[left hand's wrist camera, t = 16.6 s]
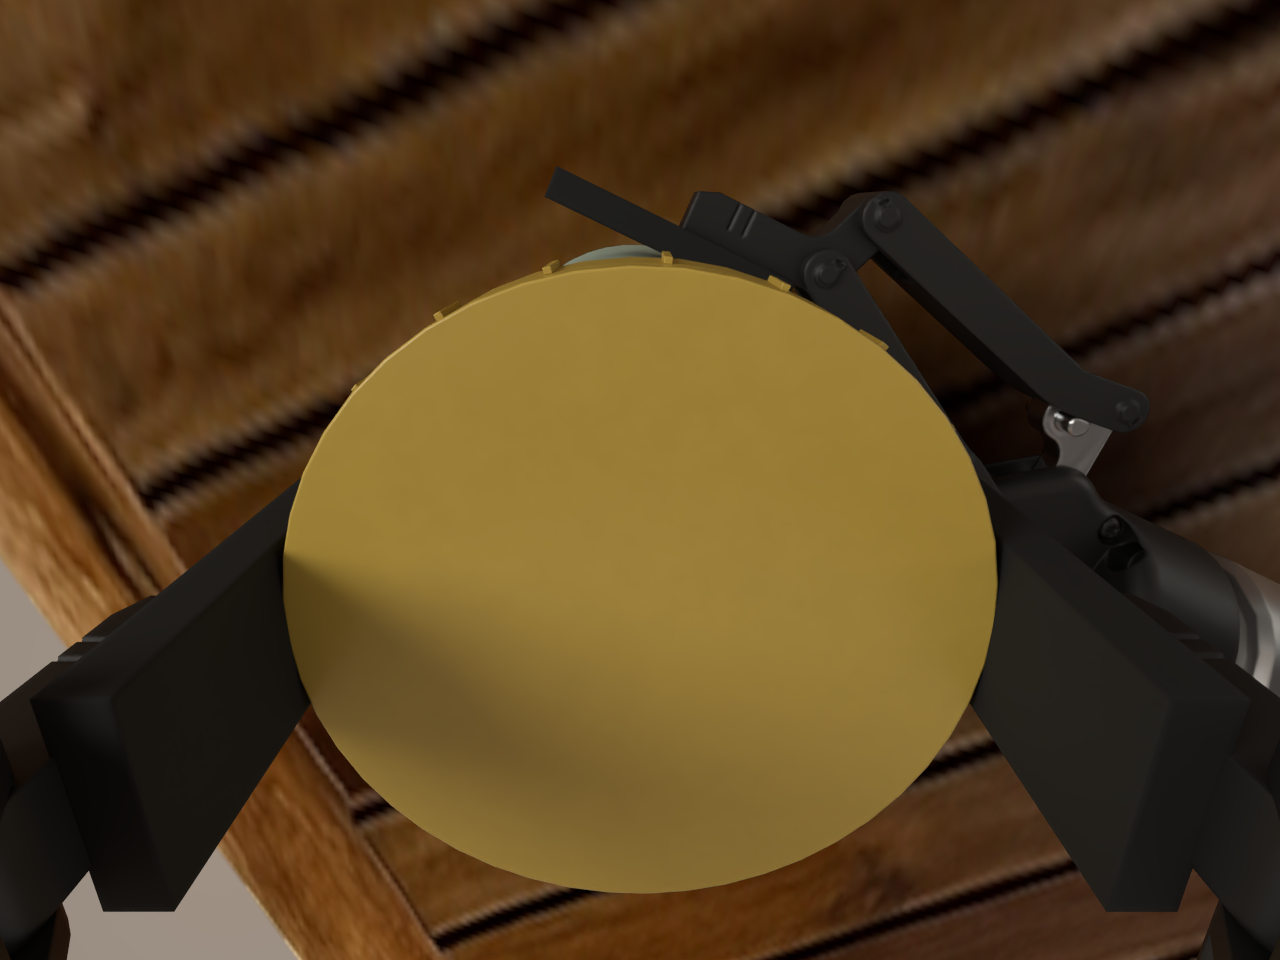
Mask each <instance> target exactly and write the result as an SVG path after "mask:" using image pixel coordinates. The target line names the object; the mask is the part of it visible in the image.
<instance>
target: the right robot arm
mask: <svg viewBox="0 0 1280 960" xmlns="http://www.w3.org/2000/svg"><path fill="white" fill-rule="evenodd" d="M545 197H546V198H549V199H551V200H553V201H555V202H557V203H559V204H561V205H563V206H565V207H567V208H569V209H571V210H573V211H575V212H577V213H580V214H582V215H584V216H586V217H588V218H590V219H592V220H594V221H596V222H598V223H600V224H602V225H604V226H606V227H608V228H610V229H613V230H615V231H617V232H619V233H621V234H623V235H625V236H627V237H629V238H631V239H633V240H635V241H637V242H639V243H641V244H644V245H646V246H648V247H650V248H652V249H654V250H656V251H658V252H660V253H662V251H669V252H670V253H671V255H672V256H673V258H674V259H684V260H689V261H695V262H700V263H706V264H711V265H717V266H722V267H727V268H730V269H733V270H736V271H739V272H742V273H745V274H748V275H751V276H754V277H757V278H760V279H764V280H767V281H768V278H769V276H770V275H772V276H774V277H776V278H778V279H780V280H782V281H784V282H785V283H787V284H789V285H791V287H790V290H789V291H790V292H791V290H792V288H793V287H794V288H795V290H796V291H797V293H798V294H799V296H801V297H803V298H805V299H807V300H809V301H811V302H813V303H814V304H816V305H818V306H820V307H821V308H823V309H825V310H826V311H828V312H830V313H831V314H833V315H835V316H837V317H838V318H840V319H841V320H843V321H844V322H846V323H847V324H849V325H850V326H852V327H853V328H855V329H856V330H857V331H860V330H861V329H862V330H863V331H865V332H867V333H869V334H870V335H872V336H874V337H875V338H877V339H879V340H881V341H882V342H884V343H885V344H886V345H887V346H888V347H889V348H888V349H887V350H886V352H887V353H888V354H890V355H891V356H892V357H893V358H894V359H895V360H896V361H897V362H898V363H899V364H900V365H901V366H903V367H904V368H905V369H906V370H907V371H908V372H909V373H910V374H911V375H912V376H913V377H914V378H916V379H917V380H918V382H919V383H920V384H921V385H922V387H923V388H924V389H925V390H926V392H927V393H928V394H929V395H930V397H931V398H932V399H933V400H934V402H935V403H936V404H937V405H938V407H939V408H940V409H941V410H942V412H943V413H944V414H945V415H946V417H947V418H948V420H949V421H950V423H951V424H952V425H953V423H952V422H951V420H950V419H949V417H948V416H947V414H946V412H945V411H944V409H943V408H942V406H941V405H940V403H939V401H938V400H937V398H936V397H935V395H934V394H933V392H932V390H931V389H930V387H929V386H928V384H927V383H926V381H925V379H924V378H923V376H922V375H921V373H920V372H919V370H918V368H917V367H916V365H915V364H914V362H913V361H912V359H911V358H910V356H909V354H908V353H907V351H906V350H905V348H904V347H903V345H902V343H901V342H900V340H899V339H898V337H897V336H896V334H895V332H894V331H893V329H892V328H891V326H890V325H889V323H888V321H887V320H886V318H885V317H884V315H883V314H882V312H881V310H880V309H879V307H878V306H877V304H876V303H875V301H874V300H873V298H872V296H871V295H870V293H869V292H868V290H867V289H866V287H865V285H864V284H863V282H862V281H861V279H860V278H859V276H858V274H857V273H856V271H857V270H858V269H860V268H861V267H862V266H863V265H864V264H865V263H866V262H867V261H868V260H869V259H871V260H873V261H874V262H875V263H876V264H877V265H878V266H879V267H880V268H881V269H882V270H883V271H884V272H886V273H887V274H888V275H889V276H890V277H891V278H892V279H893V280H894V281H895V282H896V283H897V284H899V285H900V286H901V287H902V288H903V289H904V290H905V291H906V292H907V293H908V294H909V295H910V296H911V297H913V298H914V299H915V300H916V301H917V302H918V303H919V304H920V305H921V306H922V307H923V308H924V309H926V310H927V311H928V312H929V313H930V314H931V315H932V316H933V317H934V318H935V319H936V320H937V321H939V322H940V323H941V324H942V325H943V326H944V327H945V328H946V329H947V330H948V331H949V332H950V333H952V334H953V335H954V336H955V337H956V338H957V339H958V340H959V341H960V342H961V343H962V344H963V345H965V346H966V347H967V348H968V349H969V350H970V351H971V352H972V353H973V354H974V355H975V356H976V357H977V358H979V359H980V360H981V361H982V362H983V363H984V364H985V365H986V366H987V367H988V368H989V369H990V370H992V371H993V372H994V373H995V374H996V375H997V376H998V377H999V378H1001V379H1002V380H1003V381H1004V382H1006V383H1007V384H1008V385H1010V386H1012V387H1013V388H1015V389H1017V390H1018V391H1020V392H1022V393H1024V394H1026V395H1028V396H1030V397H1032V398H1030V399H1029V401H1028V402H1027V404H1026V411H1027V412H1028V413H1027V417H1028V422H1029V423H1030V425H1031V426H1032V427H1033V428H1035V429H1036V430H1037V431H1039V432H1040V433H1041V435H1042V437H1043V440H1044V449H1043V451H1042V454H1041V455H1031V456H1026V457H1020V458H1015V459H1009V460H1004V461H999V462H993V463H988V464H982V462H981V461H980V460H979V458H978V457H977V456H976V455H975V454H974V453H973V452H972V450H971V449H970V448H969V447H968V446H967V445H966V443H965V442H964V441H963V439H962V437H961V436H960V434H959V433H958V431H957V430H956V428H955V426H954V425H953V426H954V428H955V430H956V431H955V432H956V434H957V435H958V437H959V439H960V440H961V442H962V444H963V446H964V447H965V449H966V451H967V453H968V454H969V456H970V458H971V461H972V463H973V466H974V468H975V471H976V474H977V476H978V477H979V478H980V479H981V480H983V481H984V482H985V483H986V484H988V485H989V486H990V487H991V488H992V489H994V490H995V491H996V492H997V493H999V494H1000V495H1001V496H1002V497H1004V498H1005V499H1006V500H1007V501H1008V502H1010V503H1011V504H1012V505H1013V506H1015V507H1016V508H1017V509H1018V510H1019V511H1021V512H1022V513H1023V514H1024V515H1026V516H1027V517H1028V518H1029V519H1030V520H1032V521H1033V522H1034V523H1035V524H1037V525H1038V526H1039V527H1040V528H1042V529H1043V530H1044V531H1045V532H1046V533H1048V534H1049V535H1050V536H1051V537H1053V538H1054V539H1055V540H1056V541H1057V542H1059V543H1060V544H1061V545H1062V546H1064V547H1065V548H1066V549H1067V550H1068V551H1070V552H1071V553H1072V554H1073V555H1075V556H1076V557H1077V558H1078V559H1080V560H1081V561H1082V562H1083V563H1084V564H1086V565H1087V566H1088V567H1089V568H1091V569H1092V570H1093V571H1094V572H1095V573H1097V574H1098V575H1099V576H1100V577H1102V578H1103V579H1104V580H1105V581H1106V582H1108V583H1109V584H1110V585H1111V586H1113V587H1114V588H1115V589H1116V590H1118V591H1119V592H1120V593H1131V594H1133V595H1135V596H1137V597H1139V598H1141V599H1144V600H1146V601H1148V602H1150V603H1152V604H1154V605H1156V606H1158V607H1160V608H1162V609H1164V610H1166V611H1168V612H1170V613H1171V614H1173V615H1174V616H1175V617H1177V618H1178V619H1179V620H1180V621H1182V622H1183V623H1184V624H1186V625H1187V626H1188V627H1189V628H1191V629H1192V630H1193V631H1195V632H1196V633H1197V634H1199V639H1205V640H1206V641H1208V642H1209V643H1210V644H1211V645H1213V646H1214V647H1215V648H1217V649H1218V650H1219V651H1220V652H1222V653H1223V657H1224V659H1231V660H1232V661H1233V662H1235V663H1236V664H1237V665H1238V666H1240V667H1241V668H1242V669H1244V670H1245V671H1246V672H1247V673H1249V674H1250V675H1251V676H1253V677H1254V678H1255V679H1256V680H1258V681H1259V682H1260V683H1262V684H1263V685H1264V686H1266V687H1267V688H1268V689H1269V690H1271V691H1272V692H1273V693H1275V694H1276V695H1277V696H1278V697H1280V584H1278V583H1276V582H1274V581H1272V580H1270V579H1268V578H1266V577H1264V576H1262V575H1260V574H1258V573H1256V572H1254V571H1252V570H1249V569H1247V568H1245V567H1243V566H1241V565H1239V564H1237V563H1235V562H1233V561H1231V560H1229V559H1226V558H1224V557H1222V556H1219V555H1217V554H1214V553H1212V552H1210V551H1206V550H1204V549H1203V548H1201V547H1200V546H1199V545H1197V544H1195V543H1193V542H1191V541H1189V540H1187V539H1185V538H1183V537H1181V536H1179V535H1177V534H1174V533H1172V532H1170V531H1168V530H1166V529H1164V528H1162V527H1160V526H1158V525H1156V524H1153V523H1151V522H1149V521H1147V520H1145V519H1143V518H1141V517H1139V516H1137V515H1135V514H1132V513H1130V512H1128V511H1126V510H1124V509H1122V508H1120V507H1118V506H1116V505H1114V504H1111V503H1109V502H1107V501H1105V500H1103V499H1102V498H1101V497H1100V496H1099V495H1098V493H1097V491H1096V490H1095V488H1094V486H1093V484H1092V482H1091V481H1090V479H1089V478H1088V477H1087V476H1086V475H1087V473H1088V472H1089V470H1090V468H1091V466H1092V465H1093V463H1094V461H1095V460H1096V458H1097V456H1098V454H1099V453H1100V451H1101V449H1102V448H1103V446H1104V444H1105V442H1106V441H1107V439H1108V437H1109V436H1110V434H1111V432H1112V431H1115V432H1121V433H1125V432H1129V431H1133V430H1134V429H1136V428H1138V427H1139V426H1141V424H1142V423H1143V422H1144V421H1145V420H1146V419H1147V416H1148V413H1149V411H1150V402H1149V400H1148V398H1147V396H1146V395H1145V394H1143V393H1142V392H1140V391H1138V390H1135V389H1133V388H1130V387H1127V386H1125V385H1122V384H1119V383H1116V382H1114V381H1111V380H1108V379H1105V378H1103V377H1100V376H1097V375H1095V374H1092V373H1089V372H1086V371H1084V370H1083V369H1082V368H1081V367H1080V366H1079V365H1078V364H1077V363H1076V362H1075V361H1074V360H1073V359H1072V358H1071V357H1070V356H1069V355H1068V354H1067V353H1066V352H1065V351H1064V350H1063V349H1062V348H1061V347H1060V346H1058V345H1057V344H1056V343H1055V342H1054V341H1053V340H1052V339H1051V338H1050V337H1049V336H1048V335H1047V334H1046V333H1045V332H1044V331H1043V330H1042V329H1041V328H1040V327H1039V326H1038V325H1037V324H1036V323H1035V322H1034V321H1033V320H1032V319H1030V318H1029V317H1028V316H1027V315H1026V314H1025V313H1024V312H1023V311H1022V310H1021V309H1020V308H1019V307H1018V306H1017V305H1016V304H1015V303H1014V302H1013V301H1012V300H1011V299H1010V298H1009V297H1008V296H1007V295H1006V294H1005V293H1004V292H1002V291H1001V290H1000V289H999V288H998V287H997V286H996V285H995V284H994V283H993V282H992V281H991V280H990V279H989V278H988V277H987V276H986V275H985V274H984V273H983V272H982V271H981V270H980V269H979V268H978V267H977V266H976V265H974V264H973V263H972V262H971V261H970V260H969V259H968V258H967V257H966V256H965V255H964V254H963V253H962V252H961V251H960V250H959V249H958V248H957V247H956V246H955V245H954V244H953V243H952V242H951V241H950V240H949V239H947V238H946V237H945V236H944V235H943V234H942V233H941V232H940V231H939V230H938V229H937V228H936V227H935V226H934V225H933V224H932V223H931V222H930V221H929V220H928V219H927V218H926V217H925V216H924V215H923V214H922V213H921V212H919V211H918V210H917V209H916V208H915V207H914V206H913V205H912V204H911V203H910V202H909V201H908V200H907V199H906V198H905V197H904V196H902V195H900V194H899V193H897V192H890V191H883V192H869V193H858V194H855V195H852V196H850V197H849V198H848V199H846V200H845V201H844V202H843V204H842V205H841V207H840V209H839V211H838V212H837V213H836V214H835V215H834V216H833V217H832V218H831V219H830V220H829V221H828V222H827V223H826V224H825V225H824V226H823V227H821V228H820V229H819V230H817V231H815V232H813V233H810V234H805V235H804V234H801V233H799V232H797V231H795V230H793V229H791V228H789V227H787V226H785V225H783V224H782V223H780V222H778V221H776V220H774V219H772V218H770V217H768V216H766V215H764V214H762V213H760V212H758V211H755V210H754V209H752V208H750V207H748V206H746V205H744V204H742V203H740V202H738V201H736V200H734V199H732V198H730V197H728V196H726V195H724V194H722V193H720V192H703V191H698V192H694V194H693V196H692V199H691V201H690V203H689V205H688V207H687V210H686V212H685V214H684V216H683V218H682V221H681V223H680V225H679V226H677V225H675V224H673V223H671V222H669V221H667V220H665V219H663V218H661V217H659V216H657V215H655V214H653V213H651V212H649V211H647V210H645V209H643V208H641V207H639V206H637V205H635V204H632V203H630V202H628V201H626V200H624V199H622V198H620V197H618V196H616V195H614V194H612V193H610V192H608V191H606V190H604V189H602V188H600V187H598V186H596V185H594V184H592V183H590V182H588V181H586V180H584V179H582V178H580V177H578V176H576V175H574V174H572V173H570V172H567V171H565V170H563V169H561V168H559V167H557V166H556V169H555V171H554V174H553V176H552V179H551V182H550V184H549V187H548V189H547V192H546V194H545Z"/></svg>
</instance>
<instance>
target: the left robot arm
mask: <svg viewBox="0 0 1280 960" xmlns="http://www.w3.org/2000/svg"><path fill="white" fill-rule="evenodd" d="M301 478H302V477H301ZM301 478H300V479H299V480H298V481H297V482H295V483H294V484H293V485H292V486H290V487H289V488H288V489H287V490H286V491H284V492H283V493H282V494H281V495H279V496H278V497H277V498H276V499H275V500H273V501H272V502H271V503H270V504H268V505H267V506H266V507H265V508H263V509H262V510H261V511H260V512H259V513H257V514H256V515H255V516H254V517H252V518H251V519H250V520H249V521H248V522H246V523H245V524H244V525H243V526H241V527H240V528H239V529H238V530H237V531H235V532H234V533H233V534H232V535H230V536H229V537H228V538H227V539H226V540H224V541H223V542H222V543H221V544H219V545H218V546H217V547H216V548H214V549H213V550H212V551H211V552H210V553H208V554H207V555H206V556H205V557H203V558H202V559H201V560H200V561H199V562H197V563H196V564H195V565H194V566H192V567H191V568H190V569H189V570H188V571H186V572H185V573H184V574H183V575H181V576H180V577H179V578H178V579H176V580H175V581H174V582H173V583H172V584H170V585H169V586H168V587H167V588H165V589H164V590H163V591H162V592H161V593H159V594H158V595H157V596H149V597H147V598H145V599H143V600H141V601H139V602H137V603H135V604H133V605H131V606H129V607H127V608H125V609H123V610H121V611H118V612H116V613H114V614H112V615H111V616H109V617H108V618H107V619H106V620H104V621H103V622H102V623H101V624H99V625H98V626H97V627H95V628H94V629H93V630H92V631H90V632H89V633H88V634H86V635H85V636H84V637H83V640H82V642H76V643H75V644H74V645H72V646H71V647H70V648H69V649H67V650H66V651H65V652H63V653H62V654H61V655H60V656H58V661H57V662H51V663H49V664H48V665H47V666H46V667H44V668H43V669H42V670H40V671H39V672H38V673H37V674H35V675H34V676H33V677H32V678H30V679H29V680H28V681H26V682H25V683H24V684H23V685H21V686H20V687H19V688H17V689H16V690H15V691H14V692H12V693H11V694H10V695H9V696H7V697H6V698H5V699H3V700H2V701H1V702H0V960H67V954H68V948H69V942H70V935H71V934H70V928H69V922H68V917H67V915H66V912H65V909H64V907H63V904H62V903H63V901H64V900H65V899H66V898H67V896H68V895H69V894H70V893H71V892H72V890H73V889H74V888H75V887H76V886H77V884H78V883H79V882H80V881H81V879H82V878H83V877H84V876H85V875H86V873H87V872H88V871H89V872H90V875H91V878H92V881H93V883H94V886H95V889H96V892H97V895H98V898H99V901H100V904H101V906H102V909H103V911H104V912H174V911H175V909H176V908H177V906H178V905H179V903H180V902H181V900H182V899H183V897H184V896H185V894H186V893H187V891H188V890H189V888H190V887H191V885H192V884H193V882H194V880H195V879H196V877H197V876H198V874H199V873H200V871H201V870H202V868H203V867H204V865H205V864H206V862H207V861H208V859H209V858H210V856H211V855H212V853H213V852H214V850H215V848H216V847H217V845H218V844H219V842H220V841H221V839H222V838H223V836H224V835H225V833H226V832H227V830H228V829H229V827H230V826H231V824H232V823H233V821H234V820H235V818H236V816H237V815H238V813H239V812H240V810H241V809H242V807H243V806H244V804H245V803H246V801H247V800H248V798H249V797H250V795H251V794H252V792H253V791H254V789H255V787H256V786H257V784H258V783H259V781H260V780H261V778H262V777H263V775H264V774H265V772H266V771H267V769H268V768H269V766H270V765H271V763H272V762H273V760H274V759H275V757H276V755H277V754H278V752H279V751H280V749H281V748H282V746H283V745H284V743H285V742H286V740H287V739H288V737H289V736H290V734H291V733H292V731H293V730H294V728H295V726H296V725H297V723H298V722H299V720H300V719H301V717H302V716H303V714H304V713H305V711H306V710H307V708H308V707H309V705H310V704H311V701H310V699H309V697H308V694H307V692H306V690H305V688H304V686H303V684H302V681H301V679H300V676H299V673H298V669H297V666H296V663H295V659H294V655H293V651H292V646H291V642H290V636H289V631H288V625H287V620H286V614H285V609H284V604H283V554H284V548H285V541H286V535H287V529H288V522H289V516H290V512H291V509H292V506H293V503H294V500H295V497H296V494H297V491H298V487H299V484H300V481H301ZM978 479H979V481H980V484H981V486H982V489H983V492H984V494H985V497H986V500H987V504H988V509H989V514H990V518H991V523H992V527H993V532H994V537H995V542H996V558H997V575H998V590H997V601H996V610H995V616H994V622H993V627H992V632H991V637H990V642H989V647H988V652H987V657H986V662H985V665H984V668H983V670H982V673H981V675H980V678H979V680H978V683H977V685H976V688H975V690H974V693H973V695H972V698H971V700H970V702H969V703H970V704H971V706H972V707H973V709H974V711H975V712H976V714H977V715H978V717H979V718H980V720H981V721H982V723H983V724H984V726H985V727H986V729H987V730H988V732H989V733H990V735H991V736H992V738H993V739H994V741H995V743H996V744H997V746H998V747H999V749H1000V750H1001V752H1002V753H1003V755H1004V756H1005V758H1006V759H1007V761H1008V762H1009V764H1010V765H1011V767H1012V768H1013V770H1014V771H1015V773H1016V775H1017V776H1018V778H1019V779H1020V781H1021V782H1022V784H1023V785H1024V787H1025V788H1026V790H1027V791H1028V793H1029V794H1030V796H1031V797H1032V799H1033V800H1034V802H1035V804H1036V805H1037V807H1038V808H1039V810H1040V811H1041V813H1042V814H1043V816H1044V817H1045V819H1046V820H1047V822H1048V823H1049V825H1050V826H1051V828H1052V829H1053V831H1054V832H1055V834H1056V836H1057V837H1058V839H1059V840H1060V842H1061V843H1062V845H1063V846H1064V848H1065V849H1066V851H1067V852H1068V854H1069V855H1070V857H1071V858H1072V860H1073V861H1074V863H1075V865H1076V866H1077V868H1078V869H1079V871H1080V872H1081V874H1082V875H1083V877H1084V878H1085V880H1086V881H1087V883H1088V884H1089V886H1090V887H1091V889H1092V890H1093V892H1094V893H1095V895H1096V897H1097V898H1098V900H1099V901H1100V903H1101V904H1102V906H1103V907H1104V909H1105V910H1106V912H1177V911H1178V908H1179V905H1180V903H1181V900H1182V897H1183V894H1184V891H1185V888H1186V885H1187V882H1188V880H1189V877H1190V874H1191V871H1192V868H1193V869H1194V870H1195V871H1196V872H1197V873H1198V875H1199V876H1200V877H1201V878H1202V879H1203V881H1204V882H1205V883H1206V884H1207V885H1208V887H1209V888H1210V889H1211V890H1212V891H1213V893H1214V894H1215V895H1216V896H1217V898H1218V899H1219V901H1218V904H1217V907H1216V909H1215V912H1214V915H1213V917H1212V920H1211V923H1210V925H1209V928H1208V931H1207V933H1206V936H1205V939H1204V941H1203V944H1202V947H1201V949H1200V952H1199V955H1198V957H1197V960H1280V697H1278V696H1277V695H1276V694H1275V693H1273V692H1272V691H1271V690H1269V689H1268V688H1267V687H1266V686H1264V685H1263V684H1262V683H1260V682H1259V681H1258V680H1256V679H1255V678H1254V677H1253V676H1251V675H1250V674H1249V673H1247V672H1246V671H1245V670H1244V669H1242V668H1241V667H1240V666H1238V665H1237V664H1236V663H1235V662H1233V661H1232V660H1231V659H1224V657H1223V653H1222V652H1220V651H1219V650H1218V649H1217V648H1215V647H1214V646H1213V645H1211V644H1210V643H1209V642H1208V641H1206V640H1205V639H1199V634H1197V633H1196V632H1195V631H1193V630H1192V629H1191V628H1189V627H1188V626H1187V625H1186V624H1184V623H1183V622H1182V621H1180V620H1179V619H1178V618H1177V617H1175V616H1174V615H1173V614H1171V613H1170V612H1168V611H1166V610H1164V609H1162V608H1160V607H1158V606H1156V605H1154V604H1152V603H1150V602H1148V601H1146V600H1144V599H1141V598H1139V597H1137V596H1135V595H1133V594H1131V593H1120V592H1119V591H1118V590H1116V589H1115V588H1114V587H1113V586H1111V585H1110V584H1109V583H1108V582H1106V581H1105V580H1104V579H1103V578H1102V577H1100V576H1099V575H1098V574H1097V573H1095V572H1094V571H1093V570H1092V569H1091V568H1089V567H1088V566H1087V565H1086V564H1084V563H1083V562H1082V561H1081V560H1080V559H1078V558H1077V557H1076V556H1075V555H1073V554H1072V553H1071V552H1070V551H1068V550H1067V549H1066V548H1065V547H1064V546H1062V545H1061V544H1060V543H1059V542H1057V541H1056V540H1055V539H1054V538H1053V537H1051V536H1050V535H1049V534H1048V533H1046V532H1045V531H1044V530H1043V529H1042V528H1040V527H1039V526H1038V525H1037V524H1035V523H1034V522H1033V521H1032V520H1030V519H1029V518H1028V517H1027V516H1026V515H1024V514H1023V513H1022V512H1021V511H1019V510H1018V509H1017V508H1016V507H1015V506H1013V505H1012V504H1011V503H1010V502H1008V501H1007V500H1006V499H1005V498H1004V497H1002V496H1001V495H1000V494H999V493H997V492H996V491H995V490H994V489H992V488H991V487H990V486H989V485H988V484H986V483H985V482H984V481H983V480H981V479H980V478H979V477H978Z"/></svg>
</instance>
